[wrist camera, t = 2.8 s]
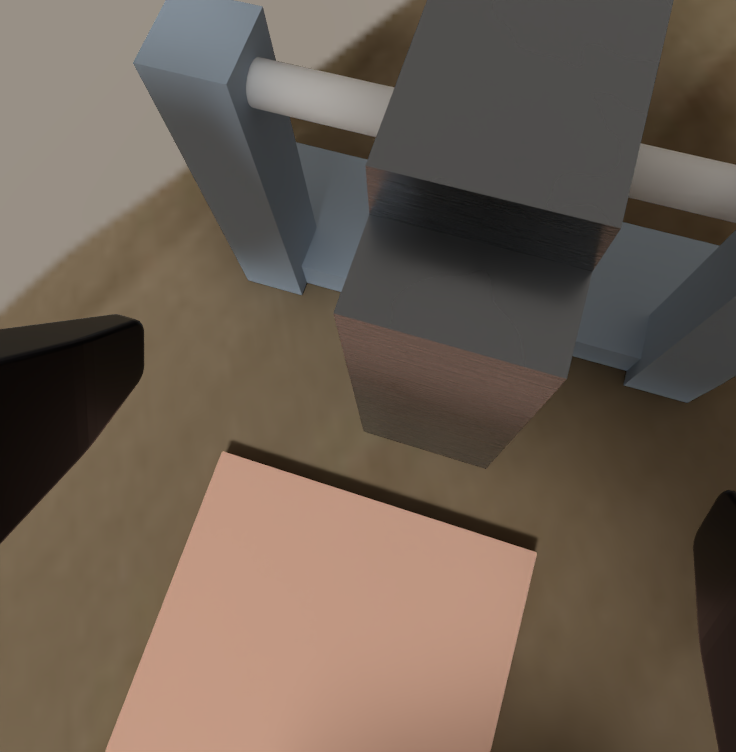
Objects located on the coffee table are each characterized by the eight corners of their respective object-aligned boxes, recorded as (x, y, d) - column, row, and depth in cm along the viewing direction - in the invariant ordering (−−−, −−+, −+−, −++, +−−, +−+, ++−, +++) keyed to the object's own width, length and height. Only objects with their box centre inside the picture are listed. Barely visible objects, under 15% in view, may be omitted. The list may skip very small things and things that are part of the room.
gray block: (540, 263, 21) (682, -38, 11) (485, 468, 19) (593, 350, 9) (428, 234, 22) (456, -80, 11) (363, 431, 20) (324, 276, 9)
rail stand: (727, 269, 21) (995, 29, 11) (703, 407, 19) (985, 262, 10) (284, 159, 23) (205, -119, 13) (235, 276, 21) (109, 57, 12)
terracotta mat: (534, 552, 18) (537, 552, 18) (442, 941, 16) (443, 950, 15) (225, 453, 20) (222, 450, 19) (92, 795, 17) (86, 801, 17)
